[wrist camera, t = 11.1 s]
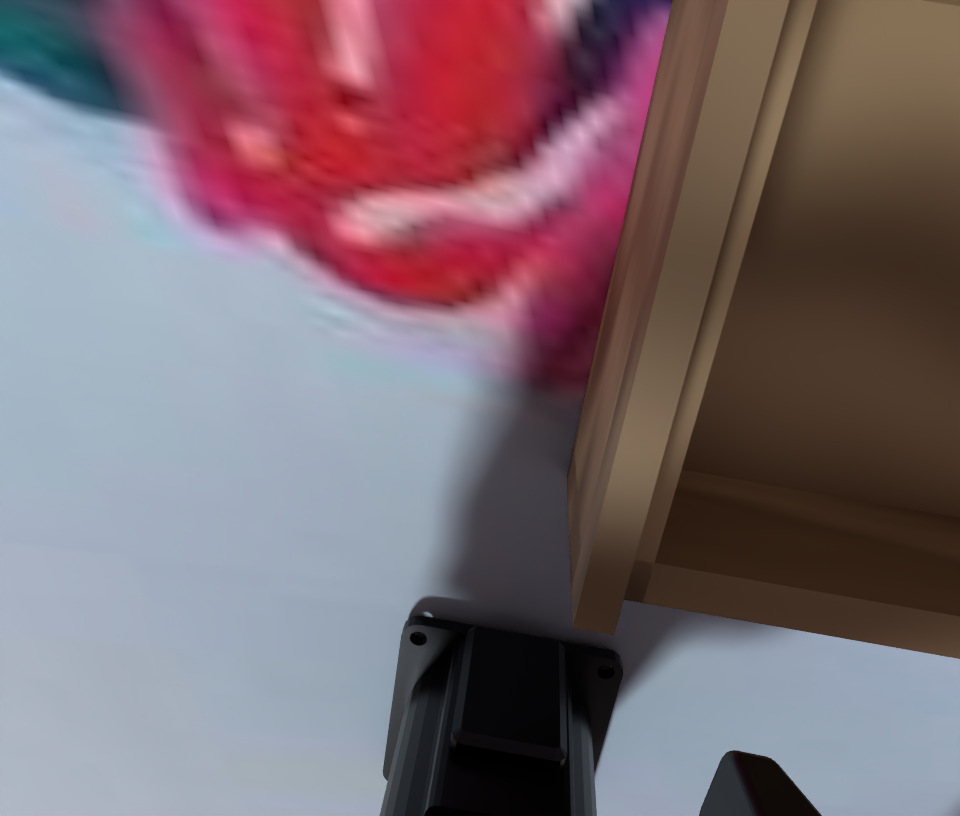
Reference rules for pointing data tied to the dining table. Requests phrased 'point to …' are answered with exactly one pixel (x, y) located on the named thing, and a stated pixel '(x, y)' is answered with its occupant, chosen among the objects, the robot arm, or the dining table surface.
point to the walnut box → (784, 331)
